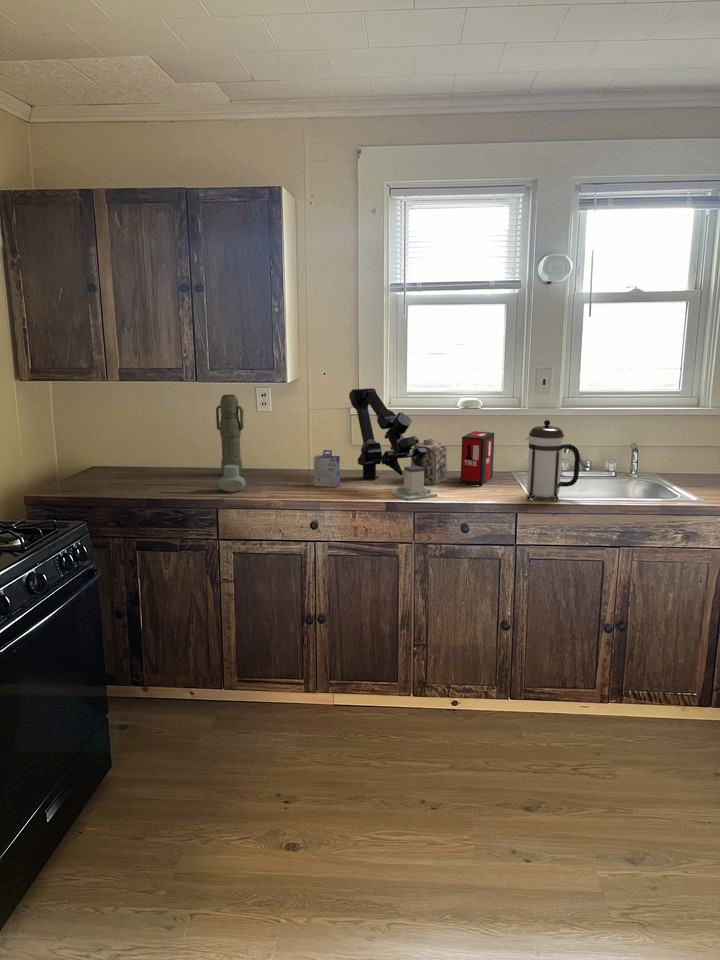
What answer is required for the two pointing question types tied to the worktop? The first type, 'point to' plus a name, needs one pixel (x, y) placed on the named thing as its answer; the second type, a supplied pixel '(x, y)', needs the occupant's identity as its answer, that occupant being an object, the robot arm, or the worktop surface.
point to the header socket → (413, 494)
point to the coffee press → (547, 461)
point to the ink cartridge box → (327, 470)
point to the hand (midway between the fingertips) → (412, 473)
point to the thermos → (230, 431)
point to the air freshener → (231, 479)
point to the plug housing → (413, 478)
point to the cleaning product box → (477, 458)
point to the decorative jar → (433, 461)
